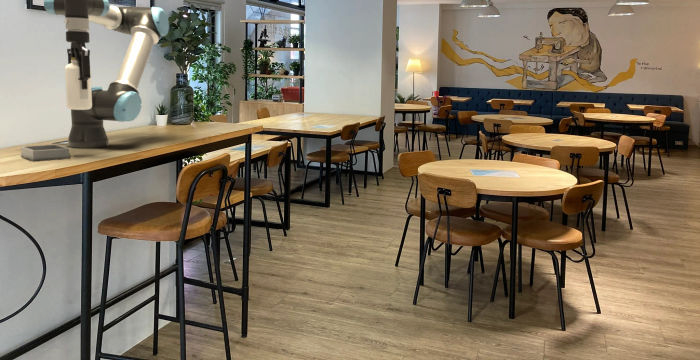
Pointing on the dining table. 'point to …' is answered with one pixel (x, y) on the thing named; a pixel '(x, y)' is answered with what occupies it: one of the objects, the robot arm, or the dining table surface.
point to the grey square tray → (45, 152)
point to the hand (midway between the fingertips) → (80, 98)
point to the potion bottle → (76, 88)
